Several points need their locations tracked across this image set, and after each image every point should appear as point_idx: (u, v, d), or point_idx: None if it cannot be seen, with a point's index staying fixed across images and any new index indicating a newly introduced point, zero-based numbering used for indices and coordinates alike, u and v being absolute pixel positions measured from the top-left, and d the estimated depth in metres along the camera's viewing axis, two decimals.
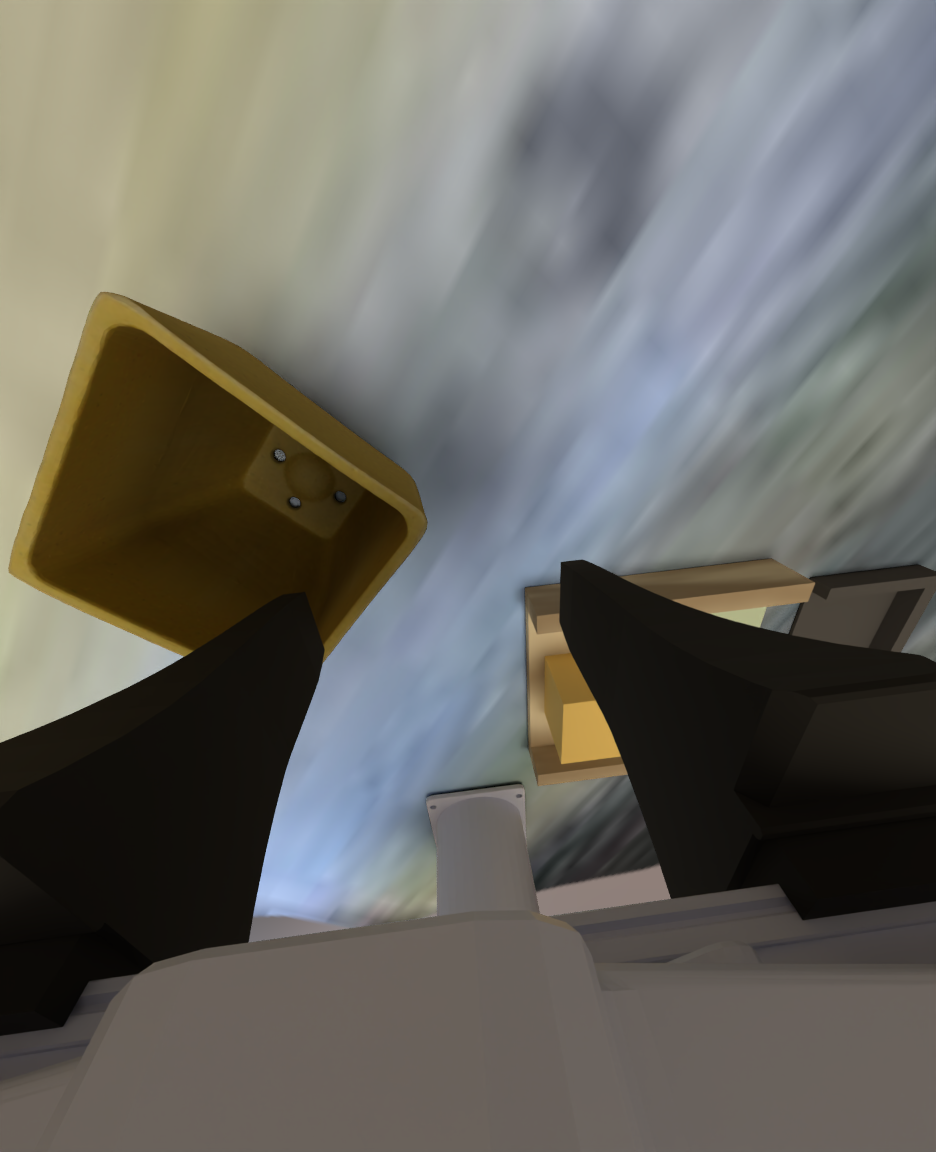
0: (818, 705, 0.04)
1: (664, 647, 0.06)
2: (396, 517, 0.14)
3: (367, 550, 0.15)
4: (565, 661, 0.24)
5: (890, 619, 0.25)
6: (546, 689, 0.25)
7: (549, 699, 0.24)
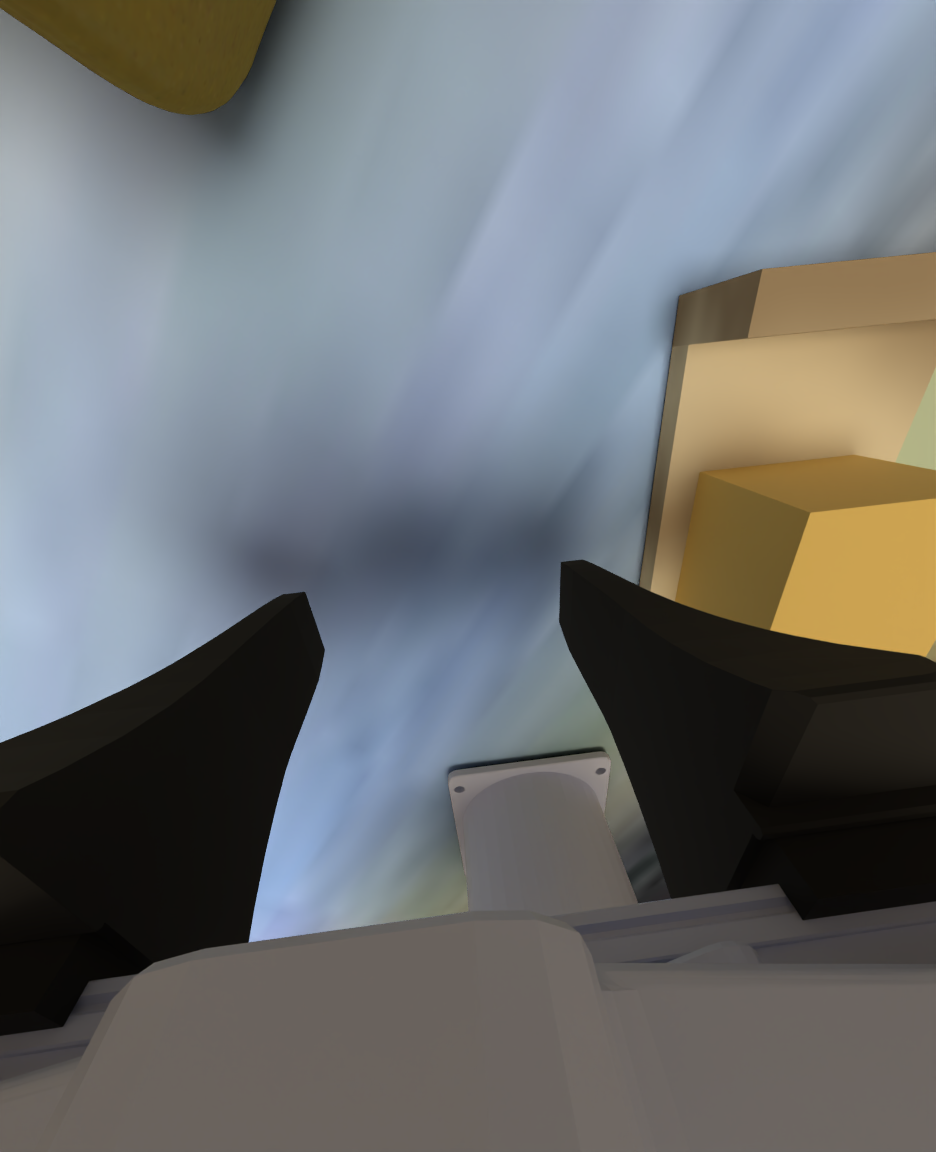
0: (818, 705, 0.04)
1: (664, 647, 0.06)
2: None
3: None
4: (751, 473, 0.11)
5: None
6: (695, 546, 0.13)
7: (709, 559, 0.12)
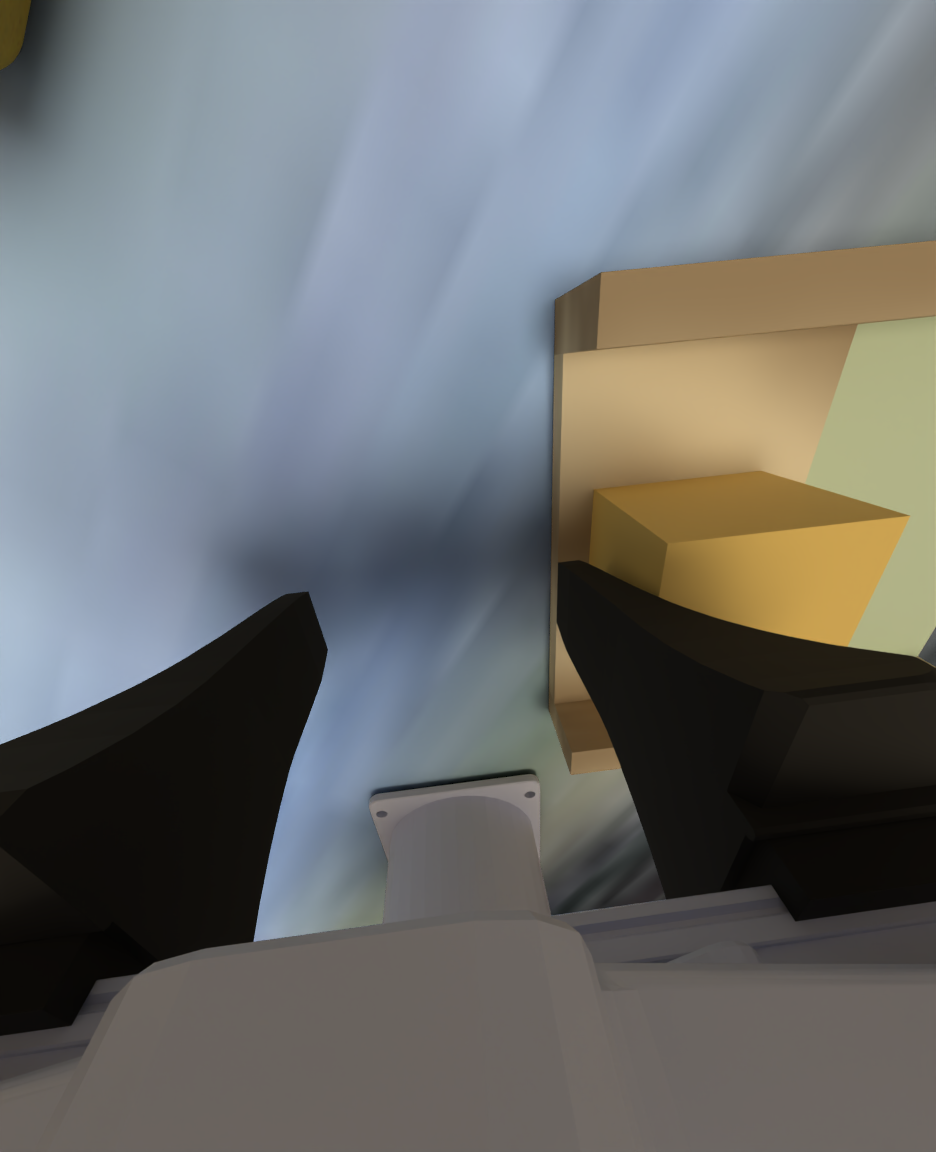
0: (810, 706, 0.04)
1: (659, 648, 0.06)
2: None
3: None
4: (643, 491, 0.11)
5: None
6: None
7: None
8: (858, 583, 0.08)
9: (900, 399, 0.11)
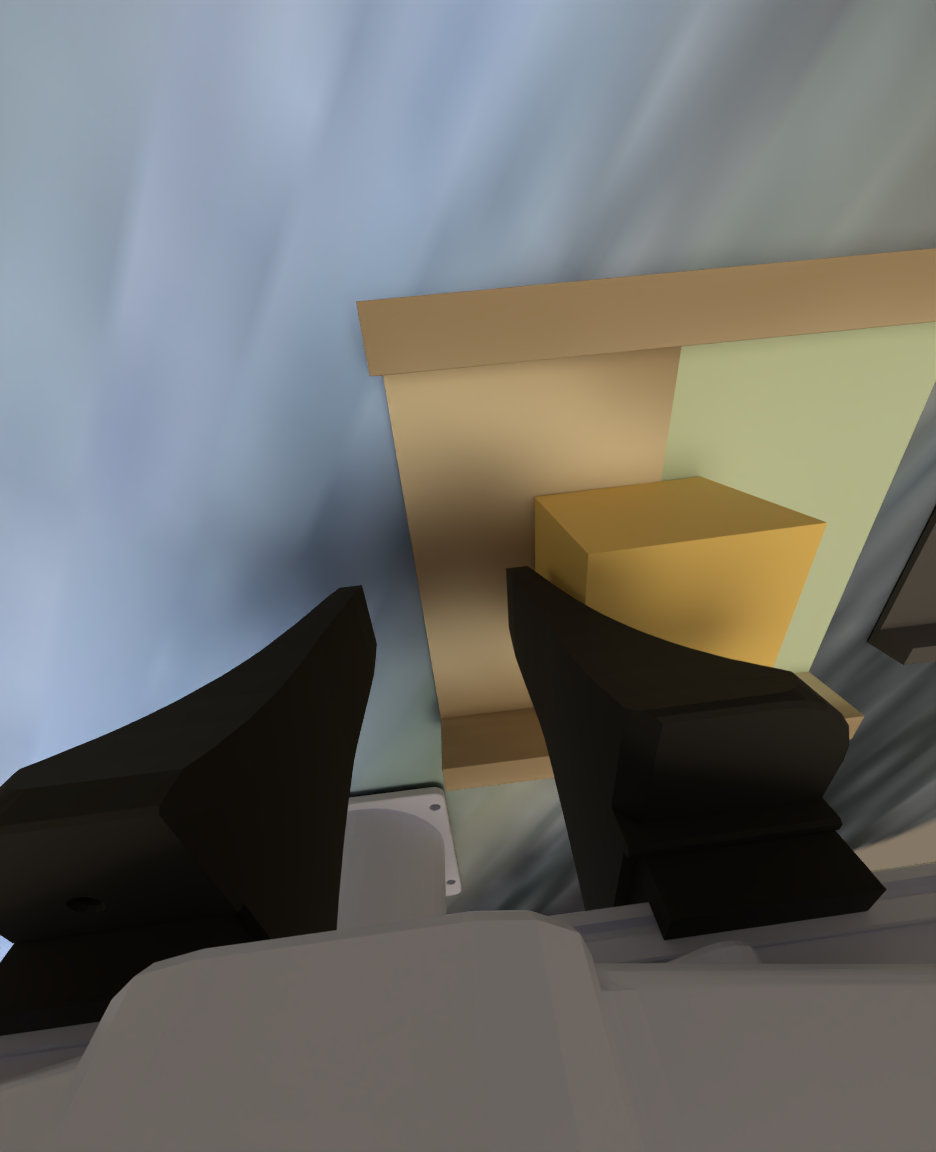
0: (666, 725, 0.04)
1: (567, 659, 0.06)
2: None
3: None
4: (581, 499, 0.10)
5: None
6: None
7: None
8: (783, 589, 0.09)
9: (742, 419, 0.11)
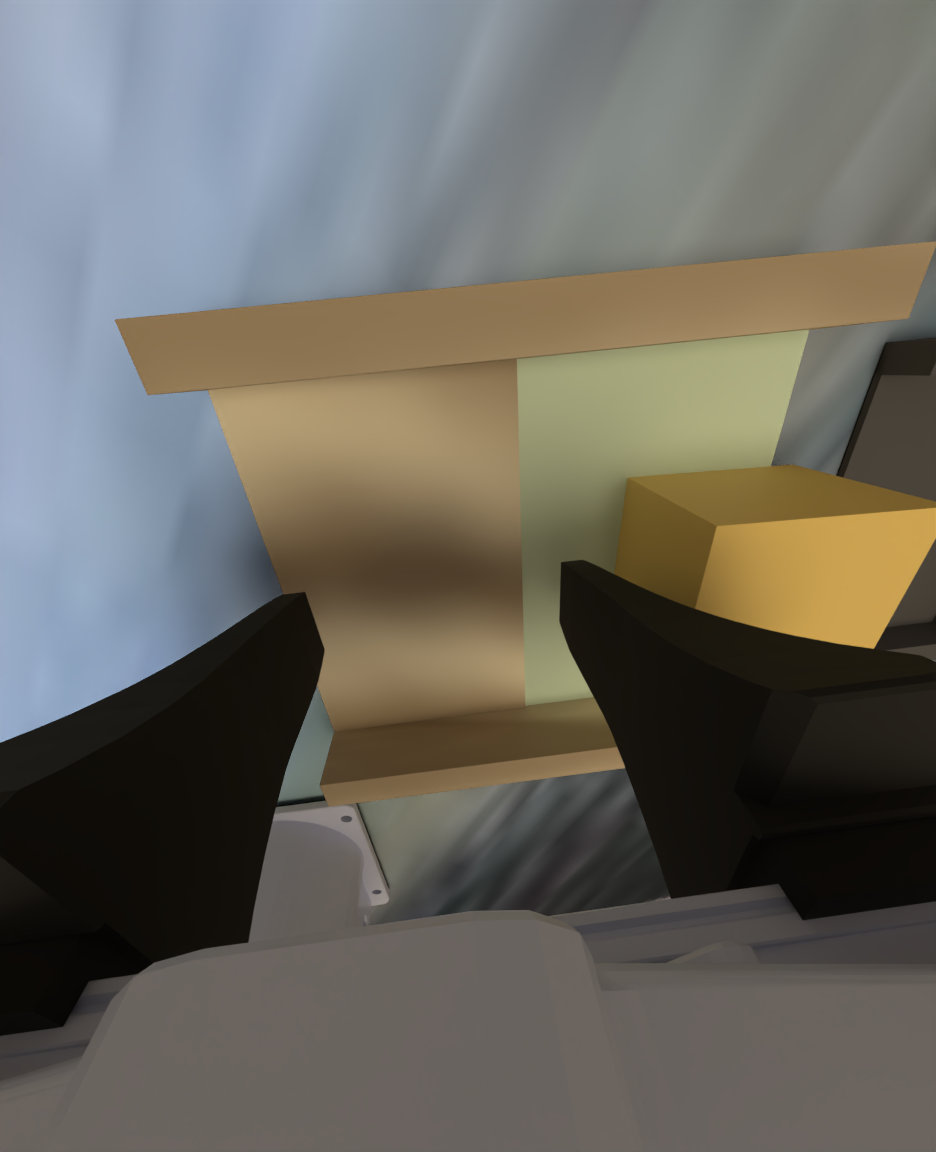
0: (818, 705, 0.04)
1: (664, 647, 0.06)
2: None
3: None
4: (678, 480, 0.11)
5: None
6: (624, 557, 0.12)
7: (634, 572, 0.11)
8: (897, 573, 0.09)
9: (595, 432, 0.10)
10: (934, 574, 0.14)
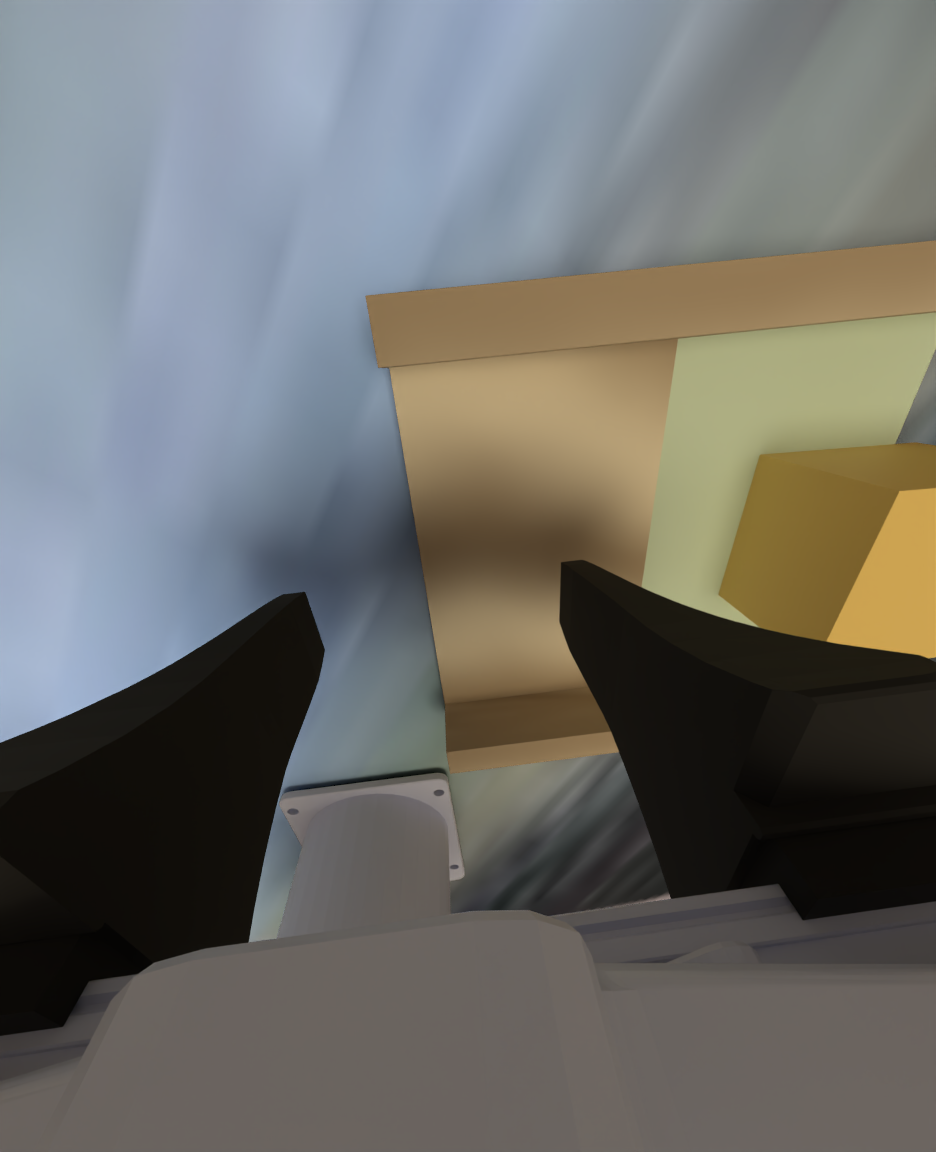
0: (818, 705, 0.04)
1: (664, 647, 0.06)
2: None
3: None
4: (815, 456, 0.11)
5: None
6: (749, 532, 0.12)
7: (765, 545, 0.12)
8: None
9: (737, 410, 0.11)
10: None
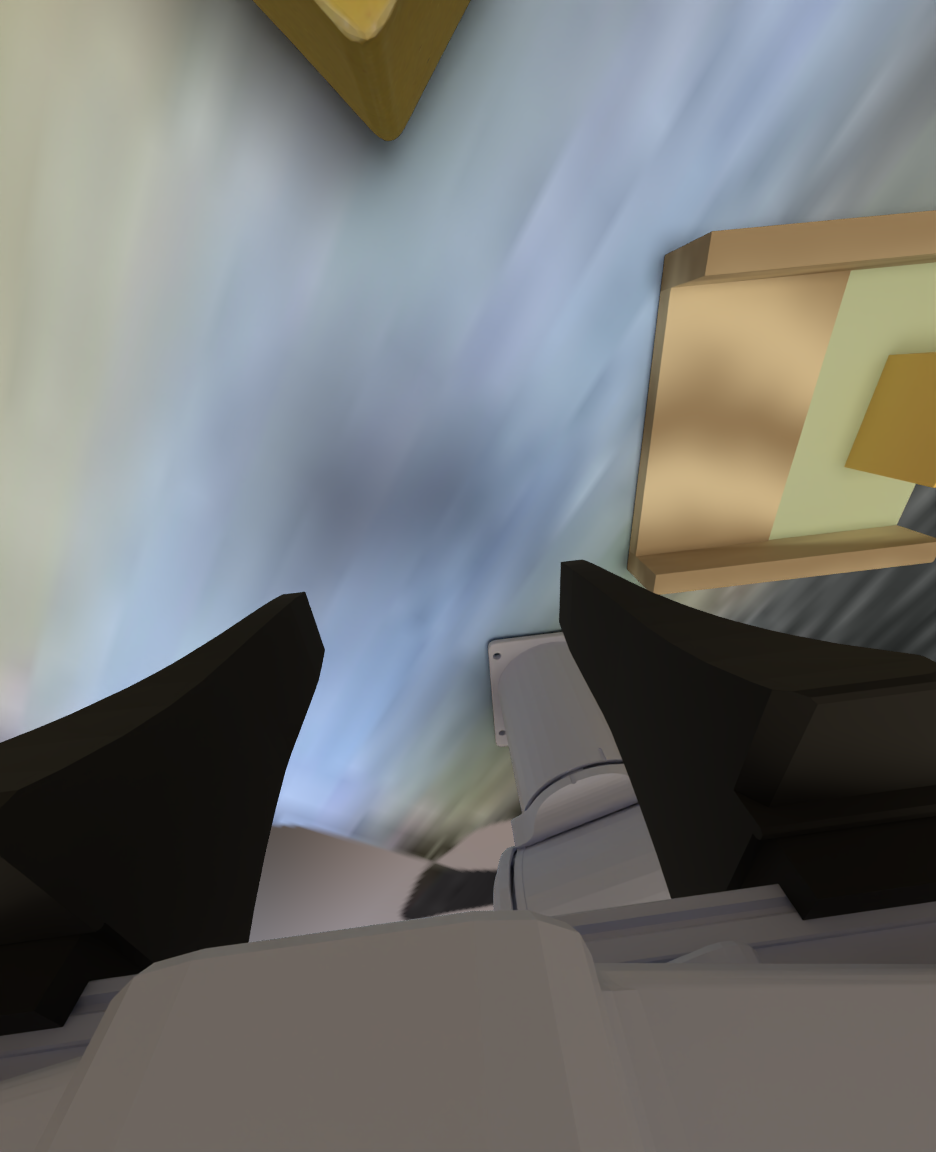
0: (818, 705, 0.04)
1: (664, 647, 0.06)
2: None
3: None
4: (930, 352, 0.17)
5: None
6: (877, 411, 0.18)
7: (892, 416, 0.17)
8: None
9: (879, 321, 0.17)
10: None
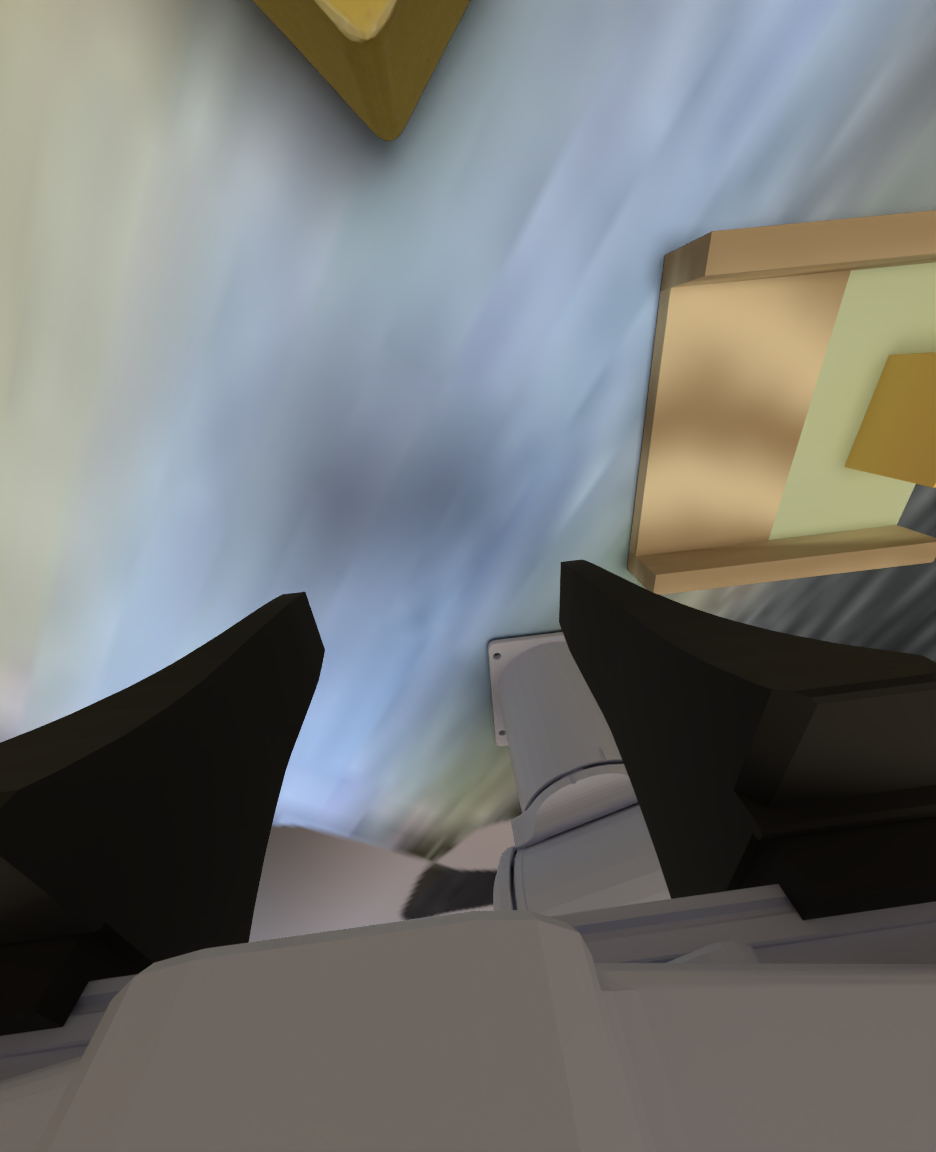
0: (818, 705, 0.04)
1: (664, 647, 0.06)
2: None
3: None
4: (930, 352, 0.17)
5: None
6: (877, 411, 0.18)
7: (892, 416, 0.17)
8: None
9: (879, 321, 0.17)
10: None
